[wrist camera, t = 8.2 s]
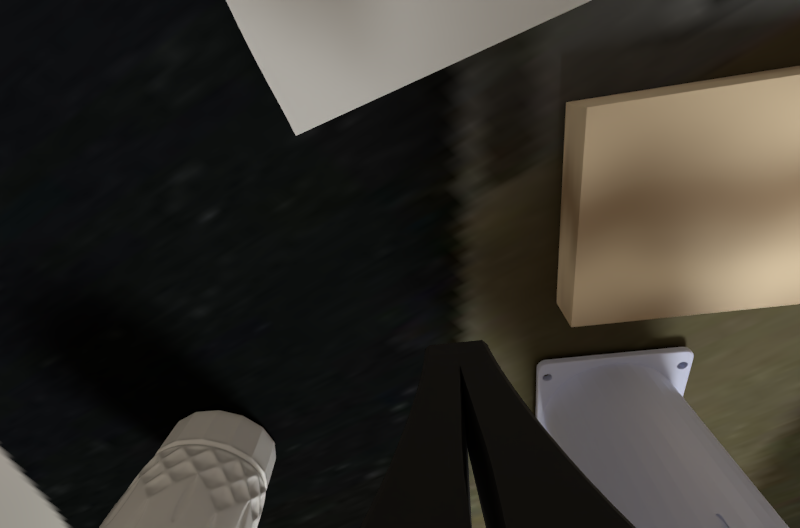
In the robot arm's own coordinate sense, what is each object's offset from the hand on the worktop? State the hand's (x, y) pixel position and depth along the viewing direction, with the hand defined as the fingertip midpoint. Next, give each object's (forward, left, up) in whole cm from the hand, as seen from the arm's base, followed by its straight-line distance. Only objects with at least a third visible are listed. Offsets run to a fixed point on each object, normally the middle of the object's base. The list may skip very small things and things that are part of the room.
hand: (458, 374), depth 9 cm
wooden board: (0, -12, -9) cm, 15 cm away
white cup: (-14, +15, -10) cm, 23 cm away
